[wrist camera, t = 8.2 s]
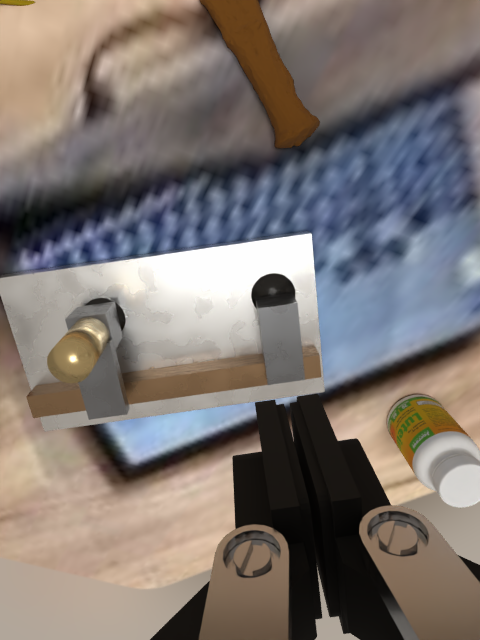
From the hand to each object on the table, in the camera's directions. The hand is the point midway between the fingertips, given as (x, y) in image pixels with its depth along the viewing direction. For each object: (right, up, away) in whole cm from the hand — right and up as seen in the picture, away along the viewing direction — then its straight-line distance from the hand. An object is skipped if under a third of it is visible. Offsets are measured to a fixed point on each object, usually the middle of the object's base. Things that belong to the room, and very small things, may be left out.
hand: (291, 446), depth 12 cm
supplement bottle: (+15, -6, +32) cm, 36 cm away
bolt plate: (-7, +2, +28) cm, 29 cm away
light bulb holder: (-12, +1, +26) cm, 29 cm away
